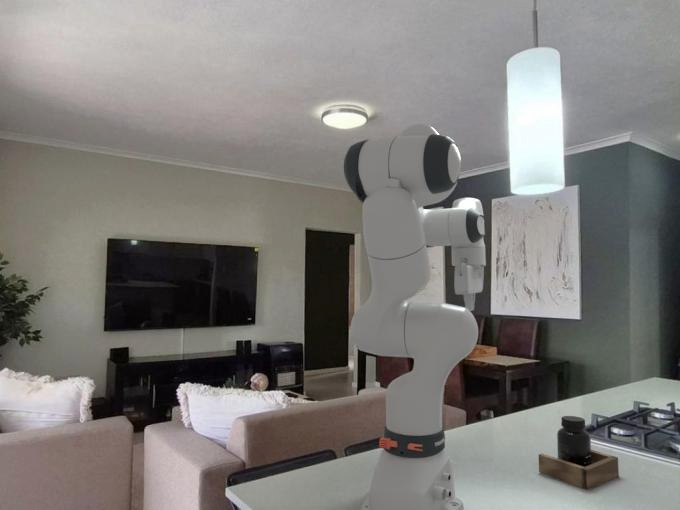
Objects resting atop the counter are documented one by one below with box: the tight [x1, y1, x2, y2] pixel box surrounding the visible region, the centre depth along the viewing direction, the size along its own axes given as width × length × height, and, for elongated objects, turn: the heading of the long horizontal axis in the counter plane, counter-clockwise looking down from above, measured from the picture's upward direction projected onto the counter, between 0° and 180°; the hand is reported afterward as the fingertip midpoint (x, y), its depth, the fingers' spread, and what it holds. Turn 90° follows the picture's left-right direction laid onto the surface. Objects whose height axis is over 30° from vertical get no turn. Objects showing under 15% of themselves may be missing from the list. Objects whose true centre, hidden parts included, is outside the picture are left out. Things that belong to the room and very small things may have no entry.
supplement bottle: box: [556, 415, 592, 467], centre depth 110 cm, size 7×7×12 cm
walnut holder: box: [538, 449, 620, 491], centre depth 109 cm, size 11×12×4 cm
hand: (469, 310), depth 131 cm, fingers closed
